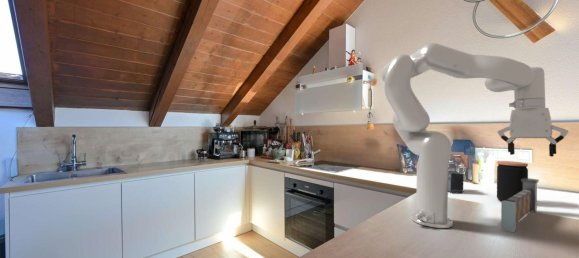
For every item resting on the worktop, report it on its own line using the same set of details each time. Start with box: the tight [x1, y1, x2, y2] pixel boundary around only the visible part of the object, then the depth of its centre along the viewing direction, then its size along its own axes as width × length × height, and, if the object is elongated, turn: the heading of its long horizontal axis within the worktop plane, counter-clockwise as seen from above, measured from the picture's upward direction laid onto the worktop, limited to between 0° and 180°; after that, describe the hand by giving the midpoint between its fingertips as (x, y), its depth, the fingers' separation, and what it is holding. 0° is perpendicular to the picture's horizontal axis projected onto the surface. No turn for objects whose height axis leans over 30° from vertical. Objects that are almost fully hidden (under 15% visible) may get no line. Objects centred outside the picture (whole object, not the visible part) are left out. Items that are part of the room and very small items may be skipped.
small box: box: [448, 170, 465, 195], centre depth 134 cm, size 11×6×10 cm, turn 168°
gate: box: [507, 189, 531, 224], centre depth 90 cm, size 27×2×8 cm, turn 127°
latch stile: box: [500, 200, 517, 233], centre depth 81 cm, size 3×3×9 cm
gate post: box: [521, 177, 540, 214], centre depth 100 cm, size 4×4×13 cm
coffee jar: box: [496, 160, 529, 202], centre depth 115 cm, size 11×11×18 cm
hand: (531, 155), depth 85 cm, fingers open, 9 cm apart
